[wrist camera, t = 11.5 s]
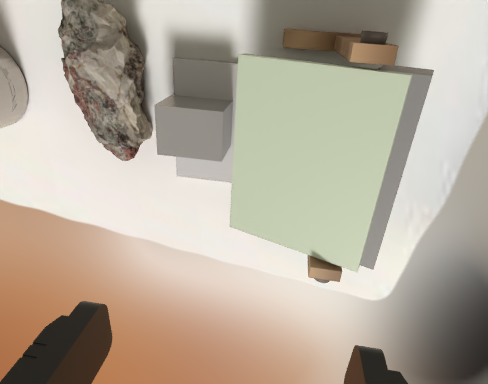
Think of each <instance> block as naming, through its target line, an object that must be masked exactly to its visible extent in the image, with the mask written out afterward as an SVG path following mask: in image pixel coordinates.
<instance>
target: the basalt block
mask: <svg viewBox="0 0 488 384" xmlns="http://www.w3.org/2000/svg"><path fill="white" fill-rule="evenodd" d="M232 110H233V101H231V100H220V99H210V98H199V97H189V96H178V95H171V96H170V97H168V98H166V99H164V100H163V101H161V102H159V103H157V104H156V105H155V121H156V138H157V154H158V155H167V156H176V157H184V158H193V159H202V160H210V161H219V162H222V160H223V159H224V157H225V155H226V153H227V152H228V150H229V148H230V146H231V132H232Z"/></svg>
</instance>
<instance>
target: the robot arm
mask: <svg viewBox="0 0 488 384" xmlns="http://www.w3.org/2000/svg"><path fill="white" fill-rule="evenodd" d="M27 104H28V92H27V86H26V83H25V80H24V77H23V75H22V73H21V71H20V69H19V67H18V66H17V64H16V63H15V61H14V60H13V58H12V57H11V56H10V55H9V54H8V53H7V52H6V51H5V50H4V49H3V48H1V47H0V128H3V127H6V126H8V125H11V124H14V123H16V122H17V121H18V120H20V119H21V118H22V116H23V115H24V113H25V111H26V108H27ZM111 343H112V332H111V326H110V320H109V314H108V308H107V306H106V305H105V304H99V303H93V302H87V301H82V302H80V303H79V304H78V305H77V306H76V307H75V309H74V310H73V311H72V313H71V314H70V315H69V316H63V315H62V316H60V317H59V318H57V319H56V320H55V321H53V322H52V323H50V324H49V325H48V326H46V327H45V329H43V331H42V332H41V333H40V334H39V335H38V337H37V338H36V339H35V340H34V342H33V344H32V345H30V347H29V348H28V349H27V350H26V351H25V352H24V354H23V357H22V358H20V359H19V360H18V361H17V362H16V363H15V365H14V366H13V367H12V368H11V370H10V371H9V372H8V373H7V374H6V376H5V377H4V378H3V379H2V380H1V382H0V384H91V383H92V382H93V380H94V378H95V376H96V375H97V373H98V371H99V369H100V367H101V366H102V364H103V362H104V361H105V359H106V357H107V355H108V353H109V350H110V347H111ZM344 384H408V383H407V382H406V380H405V379H404V378H403V376H402V374H401V373H400V372H397V371H391V370H388V369H387V365H386V361H385V357H384V354H383V351H382V350H381V349H376V348H370V347H364V346H358V345H356V346H355V347H354V349H353V352H352V355H351V358H350V362H349V365H348V368H347V371H346V374H345V379H344Z"/></svg>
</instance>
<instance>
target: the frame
mask: <svg viewBox="0 0 488 384" xmlns="http://www.w3.org/2000/svg"><path fill="white" fill-rule="evenodd" d="M387 35H388V33H385V32H372V31H362V35H361V34H347V33H334V32H320V31H306V30H292V29H284V39H283V47H285V48H298V49H310V50H323V51H336V52H338V53H340V54H341V55H342V56H343V57H344V58H346V59H347V60H348V61H349V62H355V63H368V64H380V65H392V66H394V63H395V59H396V55H397V51H398V47H399V46H396V45H392V44H388V43H386V40H387ZM341 274H342V268H341V266H338V265H335V264H332V263H330V262H327V261H324V260H321V259H318V258H316V257H313V256H310V255H308V277H310V278H314V279H315V280H317V281H318V282H321V283H327V282H329V281H330V280H331V281H337V282H340V278H341Z"/></svg>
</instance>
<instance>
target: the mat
mask: <svg viewBox="0 0 488 384" xmlns="http://www.w3.org/2000/svg"><path fill="white" fill-rule="evenodd" d="M237 72H238V63H229V62H217V61H205V60H193V59H181V58H173V74H174V95H178V96H189V97H199V98H210V99H220V100H231V101H233V110H232V132H231V146H230V148H229V150H228V152H227V153H226V155H225V157H224V159H223V160H222V162H219V161H210V160H202V159H193V158H184V157H176V166H177V176H181V177H189V178H197V179H205V180H214V181H222V182H230V183H232V171H233V151H234V131H235V111H236V92H237Z"/></svg>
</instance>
